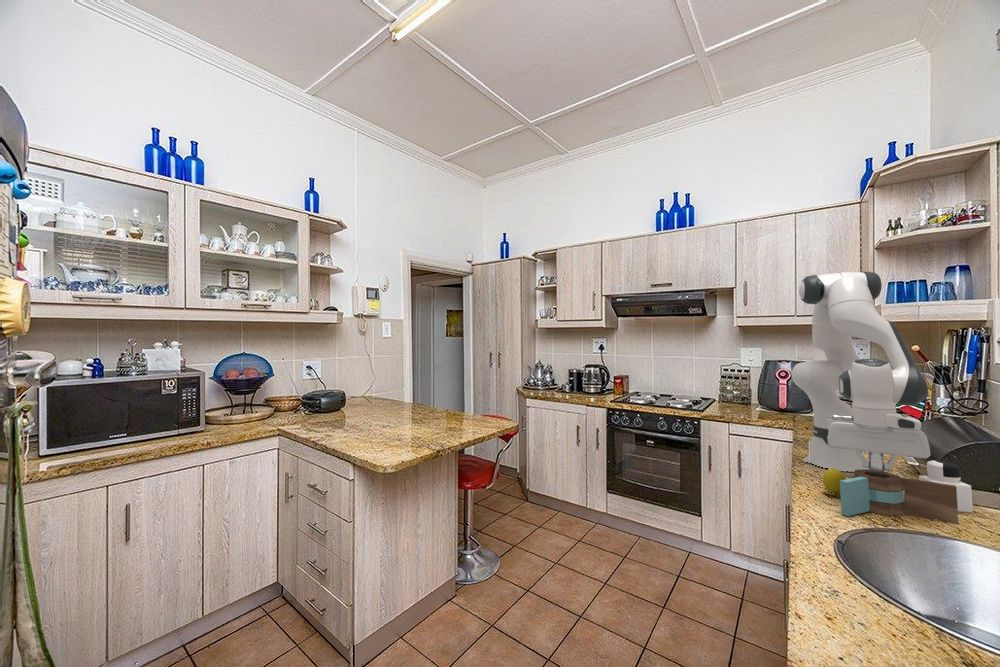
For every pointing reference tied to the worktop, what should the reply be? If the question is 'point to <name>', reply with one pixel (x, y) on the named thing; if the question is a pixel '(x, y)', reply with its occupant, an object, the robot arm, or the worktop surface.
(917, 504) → the hinge fixed leaf
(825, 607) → the worktop surface
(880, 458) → the steel pin
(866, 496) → the hinge swing leaf
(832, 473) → the lemon
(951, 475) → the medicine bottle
